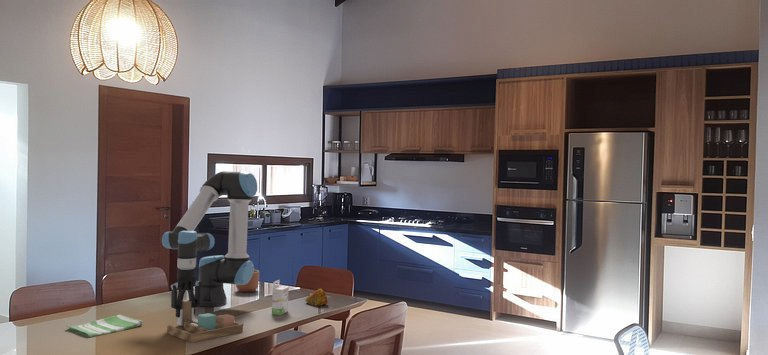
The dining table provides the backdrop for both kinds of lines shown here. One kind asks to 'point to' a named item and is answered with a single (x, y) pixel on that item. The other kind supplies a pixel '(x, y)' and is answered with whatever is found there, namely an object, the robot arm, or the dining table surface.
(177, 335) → the oak lanes
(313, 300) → the rock
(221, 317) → the terracotta block
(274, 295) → the ink box
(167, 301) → the dining table surface
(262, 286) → the dining table surface
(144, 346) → the dining table surface
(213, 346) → the dining table surface
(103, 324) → the dish towel
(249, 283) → the planter
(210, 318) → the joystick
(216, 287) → the robot arm
